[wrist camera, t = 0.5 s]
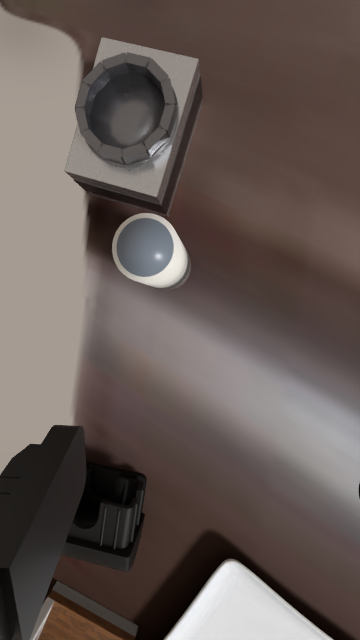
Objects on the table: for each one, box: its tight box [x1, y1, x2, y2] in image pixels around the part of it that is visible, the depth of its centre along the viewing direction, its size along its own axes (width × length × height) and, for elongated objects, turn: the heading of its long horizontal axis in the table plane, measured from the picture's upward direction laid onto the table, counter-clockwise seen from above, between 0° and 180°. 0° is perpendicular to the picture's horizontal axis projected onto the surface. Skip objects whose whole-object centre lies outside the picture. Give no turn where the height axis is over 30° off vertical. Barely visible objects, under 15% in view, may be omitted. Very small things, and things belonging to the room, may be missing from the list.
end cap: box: [61, 462, 147, 572], centre depth 32 cm, size 10×7×7 cm
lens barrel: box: [112, 213, 191, 290], centre depth 28 cm, size 5×5×10 cm
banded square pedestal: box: [65, 37, 202, 217], centre depth 29 cm, size 12×9×8 cm
